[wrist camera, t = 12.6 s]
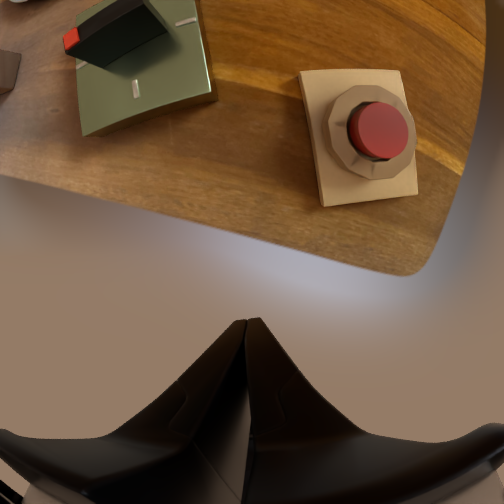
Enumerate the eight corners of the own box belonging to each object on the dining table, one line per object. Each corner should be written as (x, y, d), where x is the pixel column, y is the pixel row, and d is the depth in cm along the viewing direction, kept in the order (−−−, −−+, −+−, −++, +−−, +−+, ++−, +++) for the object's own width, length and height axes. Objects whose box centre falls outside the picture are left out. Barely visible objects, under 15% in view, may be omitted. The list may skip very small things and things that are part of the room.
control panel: (218, 100, 18) (211, 91, 15) (102, 137, 19) (80, 136, 16) (196, -15, 14) (188, -34, 11) (92, 25, 15) (75, 14, 12)
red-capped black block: (162, 16, 13) (136, -14, 8) (167, 30, 13) (142, 1, 9) (96, 53, 14) (60, 36, 9) (101, 68, 14) (62, 53, 10)
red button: (400, 156, 16) (412, 157, 15) (353, 159, 16) (362, 160, 15) (392, 105, 15) (403, 102, 13) (344, 106, 15) (352, 102, 14)
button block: (411, 192, 19) (430, 199, 17) (320, 204, 20) (329, 212, 17) (393, 73, 16) (410, 64, 13) (297, 75, 17) (303, 63, 14)
